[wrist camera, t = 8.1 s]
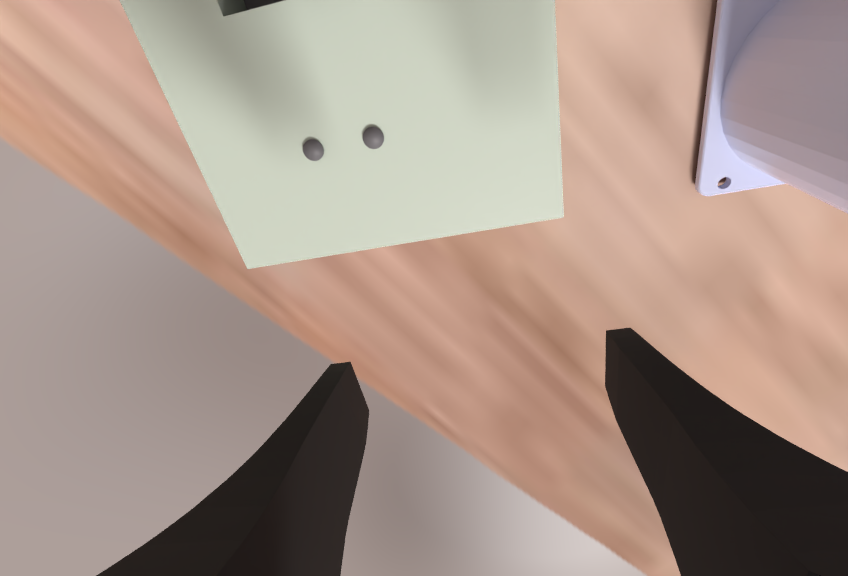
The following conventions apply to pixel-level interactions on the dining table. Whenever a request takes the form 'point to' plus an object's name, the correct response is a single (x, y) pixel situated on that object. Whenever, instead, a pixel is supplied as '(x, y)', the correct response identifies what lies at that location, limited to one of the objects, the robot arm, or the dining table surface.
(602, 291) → the dining table surface
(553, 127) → the outlet plate
